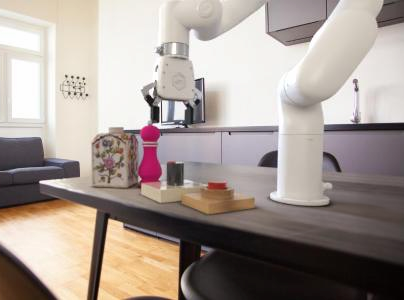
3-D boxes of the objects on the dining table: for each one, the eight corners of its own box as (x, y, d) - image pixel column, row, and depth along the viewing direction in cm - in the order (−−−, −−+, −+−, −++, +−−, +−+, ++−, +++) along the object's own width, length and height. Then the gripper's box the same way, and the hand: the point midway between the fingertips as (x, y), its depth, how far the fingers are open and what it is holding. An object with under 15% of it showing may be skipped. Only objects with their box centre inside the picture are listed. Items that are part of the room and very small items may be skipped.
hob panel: (186, 190, 83) (186, 179, 82) (210, 197, 73) (210, 185, 72) (141, 194, 76) (141, 182, 76) (160, 203, 66) (160, 189, 66)
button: (218, 187, 67) (218, 179, 67) (230, 190, 63) (230, 182, 63) (204, 188, 65) (204, 180, 65) (215, 191, 61) (215, 183, 61)
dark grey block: (178, 182, 77) (178, 160, 77) (187, 184, 73) (187, 161, 73) (163, 183, 75) (163, 161, 75) (171, 186, 71) (172, 162, 71)
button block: (223, 198, 71) (224, 182, 71) (254, 208, 62) (254, 189, 62) (181, 203, 66) (181, 186, 66) (208, 214, 57) (208, 194, 57)
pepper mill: (162, 189, 84) (162, 119, 83) (137, 188, 84) (137, 119, 83) (161, 184, 92) (162, 120, 91) (138, 184, 92) (138, 120, 91)
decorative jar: (139, 182, 96) (139, 127, 95) (128, 188, 85) (128, 126, 84) (105, 181, 99) (105, 127, 98) (90, 187, 87) (89, 126, 86)
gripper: (148, 45, 66) (147, 122, 66) (211, 56, 73) (209, 124, 74) (135, 53, 72) (134, 123, 73) (194, 62, 80) (192, 125, 81)
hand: (172, 123), depth 74 cm, fingers open, 9 cm apart
